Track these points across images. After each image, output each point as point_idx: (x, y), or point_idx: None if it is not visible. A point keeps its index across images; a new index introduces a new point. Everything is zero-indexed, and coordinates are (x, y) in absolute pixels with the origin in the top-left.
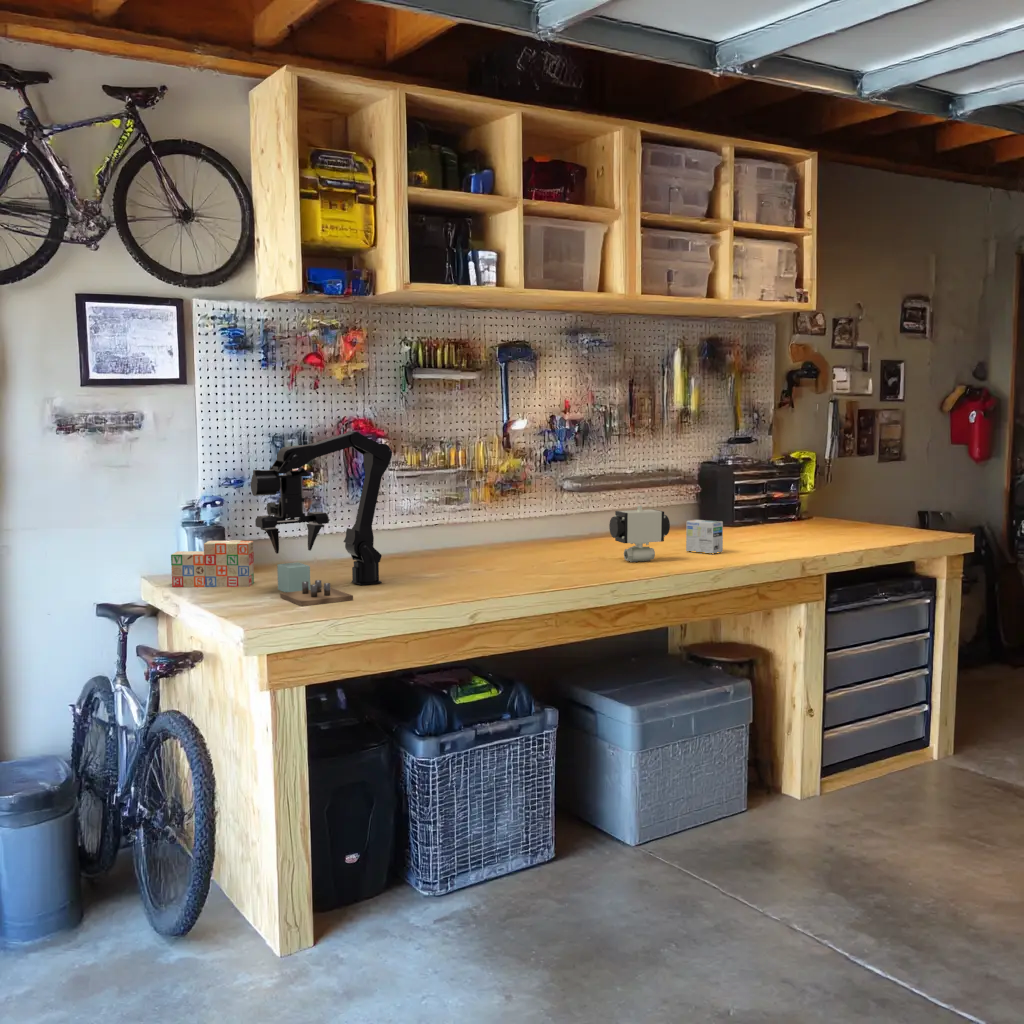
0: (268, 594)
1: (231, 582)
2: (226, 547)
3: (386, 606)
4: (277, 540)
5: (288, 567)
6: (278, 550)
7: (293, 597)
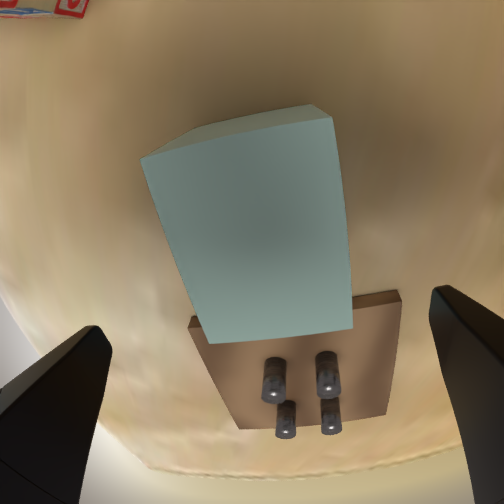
0: (148, 238)
1: (18, 16)
2: None
3: (398, 447)
4: (76, 466)
5: (211, 327)
6: (106, 377)
7: (225, 394)
